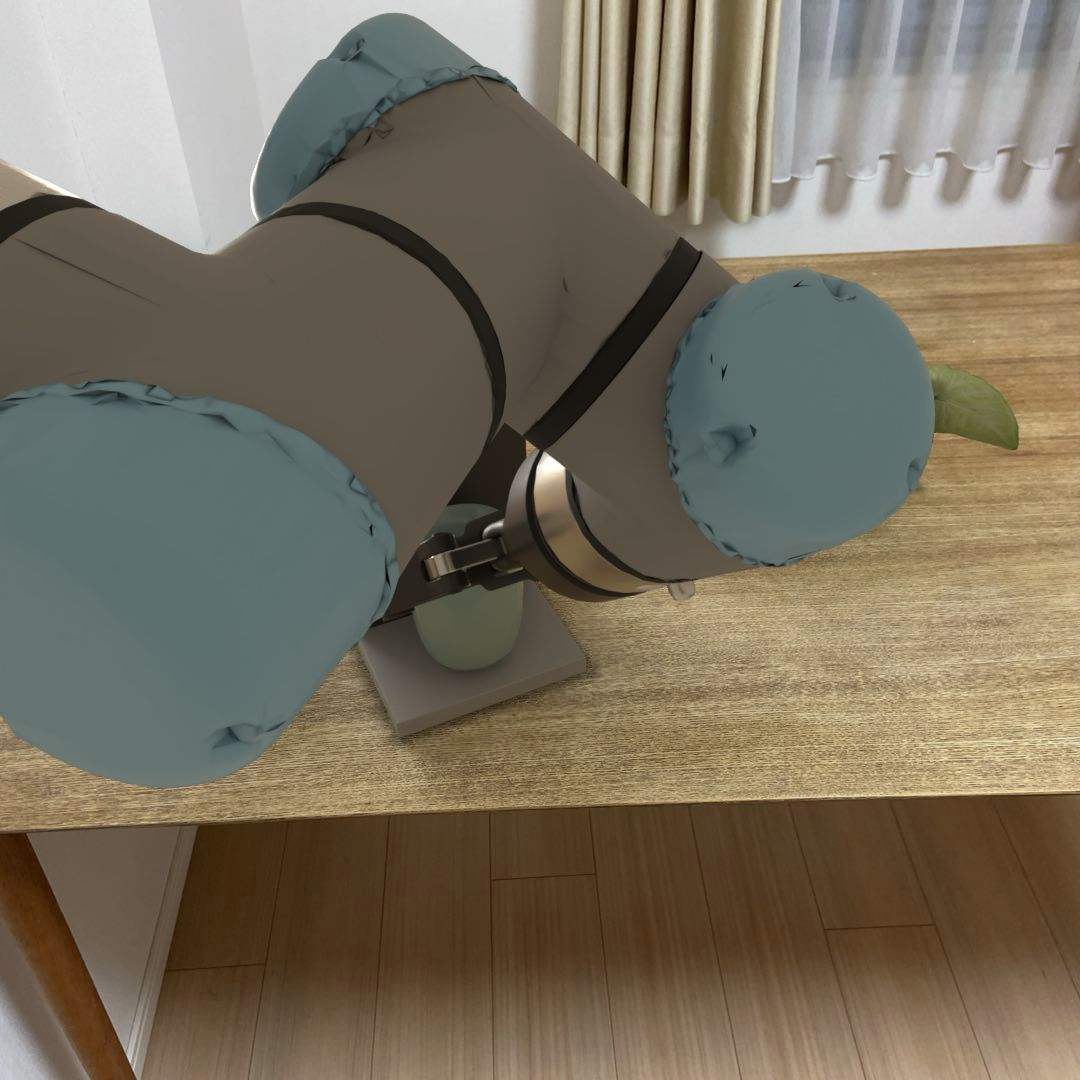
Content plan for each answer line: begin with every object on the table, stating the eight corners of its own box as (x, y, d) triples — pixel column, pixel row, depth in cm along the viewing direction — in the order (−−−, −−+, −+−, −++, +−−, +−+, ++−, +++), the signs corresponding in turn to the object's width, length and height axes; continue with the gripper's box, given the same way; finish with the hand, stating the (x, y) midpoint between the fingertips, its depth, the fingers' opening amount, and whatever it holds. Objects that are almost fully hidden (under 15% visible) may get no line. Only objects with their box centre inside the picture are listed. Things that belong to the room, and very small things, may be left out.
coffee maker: (586, 671, 72) (591, 377, 57) (399, 739, 68) (349, 440, 53) (508, 556, 82) (494, 279, 67) (340, 609, 78) (283, 325, 62)
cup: (507, 599, 76) (501, 492, 70) (540, 671, 70) (537, 562, 64) (405, 623, 74) (389, 516, 68) (430, 700, 69) (416, 590, 62)
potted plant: (601, 577, 83) (1034, 527, 82) (586, 413, 74) (1073, 355, 73) (585, 473, 95) (960, 429, 94) (570, 322, 86) (985, 272, 85)
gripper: (346, 695, 36) (305, 692, 57) (900, 505, 44) (691, 562, 64) (283, 496, 37) (265, 564, 57) (844, 343, 45) (653, 450, 65)
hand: (491, 563), depth 61 cm, fingers open, 13 cm apart
